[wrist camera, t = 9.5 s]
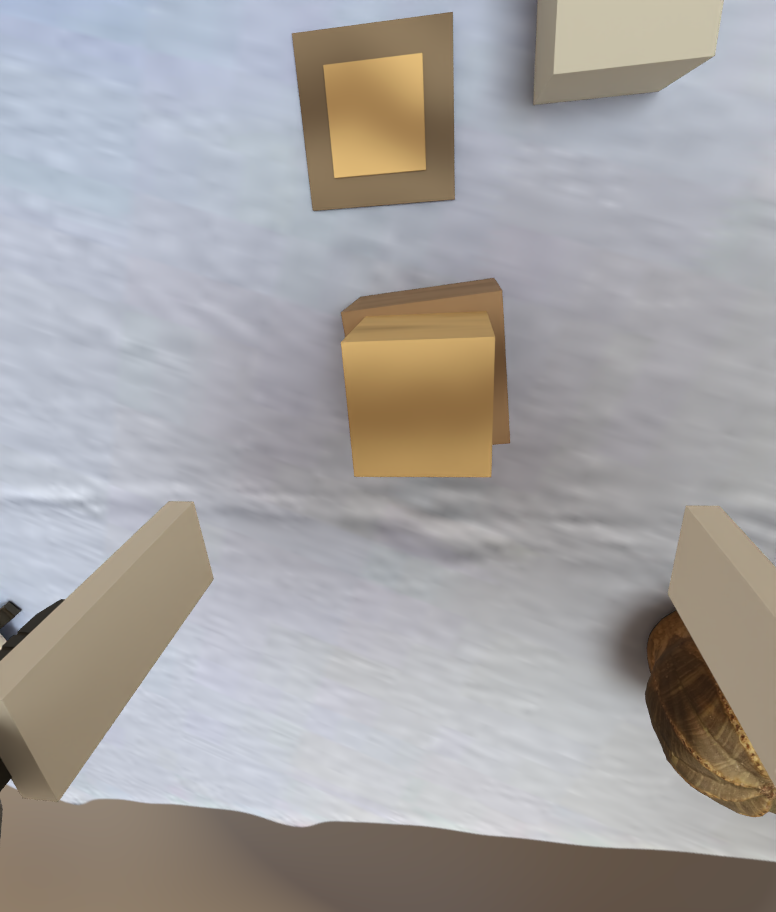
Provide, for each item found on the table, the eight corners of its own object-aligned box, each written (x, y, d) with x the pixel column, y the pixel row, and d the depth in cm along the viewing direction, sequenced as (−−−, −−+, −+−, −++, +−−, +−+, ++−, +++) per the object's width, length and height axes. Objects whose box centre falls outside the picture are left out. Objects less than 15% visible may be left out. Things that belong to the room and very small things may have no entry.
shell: (730, 552, 35) (853, 701, 24) (806, 648, 37) (948, 822, 26) (593, 623, 39) (645, 778, 28) (670, 705, 41) (745, 876, 31)
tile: (454, 199, 28) (454, 199, 27) (314, 210, 29) (311, 210, 28) (452, 15, 24) (452, 9, 24) (294, 36, 25) (290, 31, 25)
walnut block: (501, 406, 32) (510, 443, 27) (381, 417, 34) (366, 455, 28) (493, 277, 29) (502, 290, 24) (361, 296, 31) (340, 312, 25)
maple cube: (484, 425, 27) (491, 477, 21) (374, 426, 28) (354, 476, 22) (486, 311, 24) (495, 336, 19) (365, 316, 25) (340, 342, 20)
